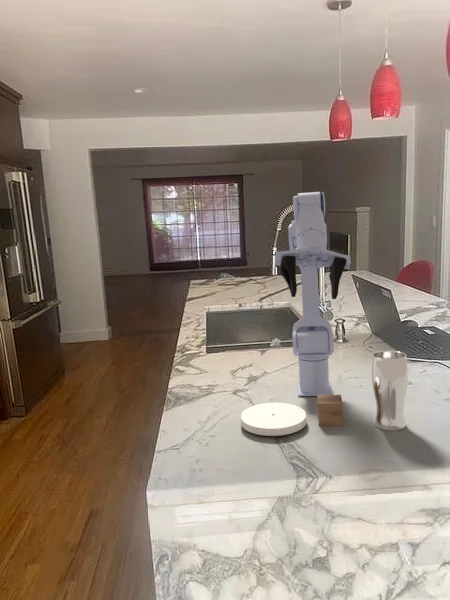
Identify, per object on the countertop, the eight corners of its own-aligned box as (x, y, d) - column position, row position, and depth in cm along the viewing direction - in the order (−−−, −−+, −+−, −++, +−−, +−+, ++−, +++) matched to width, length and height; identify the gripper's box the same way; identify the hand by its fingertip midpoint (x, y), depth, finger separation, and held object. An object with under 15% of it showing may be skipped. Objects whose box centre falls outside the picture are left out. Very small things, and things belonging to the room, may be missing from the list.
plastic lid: (227, 427, 108) (227, 416, 107) (273, 408, 116) (272, 397, 116) (274, 447, 97) (273, 435, 97) (320, 424, 106) (320, 413, 105)
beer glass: (400, 416, 106) (399, 348, 104) (413, 430, 99) (413, 358, 97) (368, 419, 106) (366, 351, 104) (379, 433, 99) (377, 360, 97)
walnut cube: (318, 416, 109) (317, 394, 109) (341, 416, 109) (340, 394, 108) (318, 426, 105) (318, 403, 104) (343, 426, 104) (342, 403, 103)
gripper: (277, 223, 97) (278, 280, 90) (351, 227, 97) (358, 284, 90) (273, 247, 103) (274, 301, 95) (343, 250, 103) (349, 305, 95)
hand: (314, 295), depth 93 cm, fingers open, 7 cm apart
